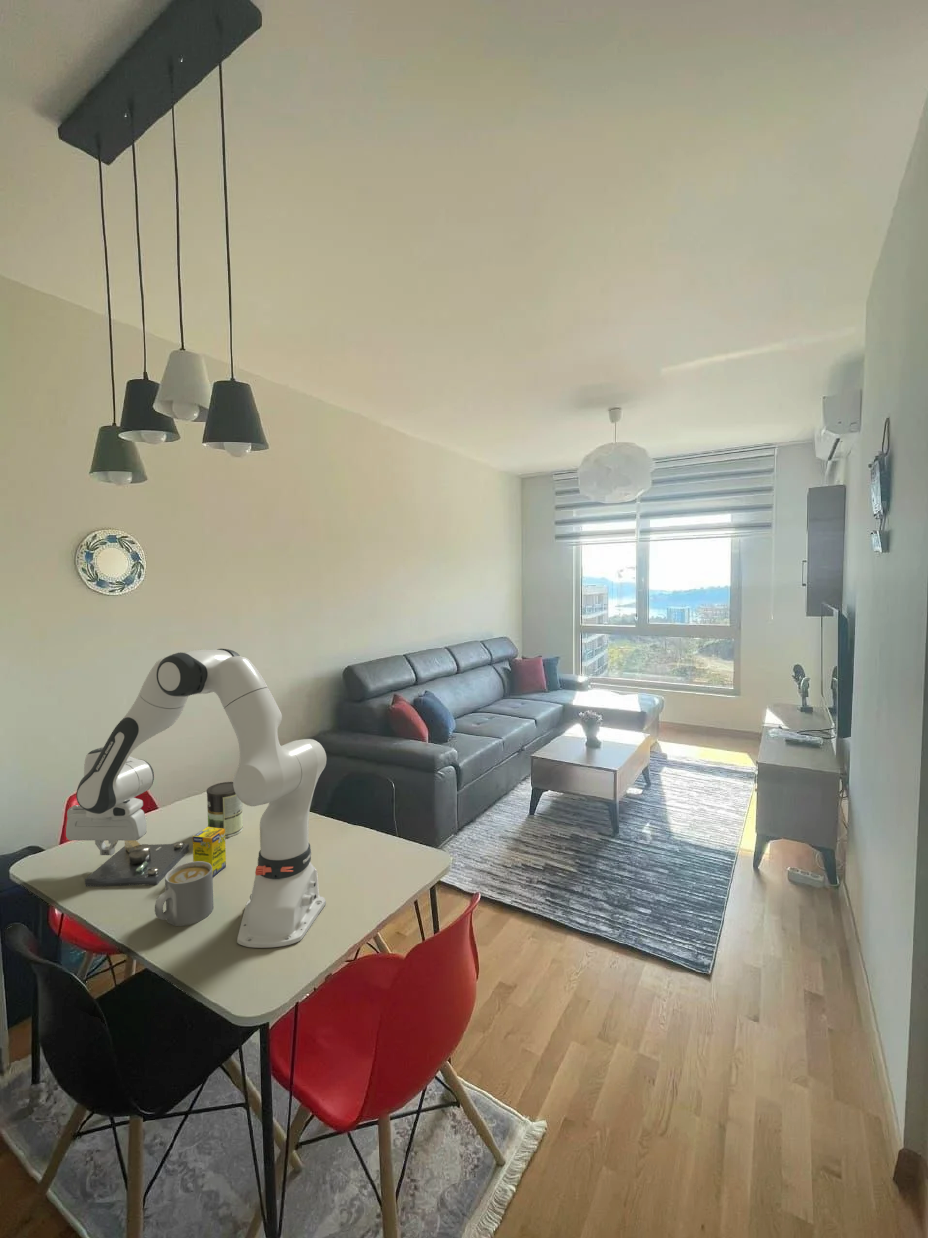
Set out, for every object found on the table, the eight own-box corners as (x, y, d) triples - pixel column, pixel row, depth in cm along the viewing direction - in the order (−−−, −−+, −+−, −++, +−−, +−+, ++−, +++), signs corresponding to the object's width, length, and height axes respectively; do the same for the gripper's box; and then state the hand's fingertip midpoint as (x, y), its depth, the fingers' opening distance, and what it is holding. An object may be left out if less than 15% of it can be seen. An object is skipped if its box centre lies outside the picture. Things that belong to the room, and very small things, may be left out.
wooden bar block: (153, 858, 148) (152, 848, 148) (133, 866, 145) (132, 854, 144) (138, 844, 157) (137, 833, 157) (118, 850, 153) (118, 839, 153)
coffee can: (205, 841, 164) (203, 795, 163) (210, 826, 173) (209, 783, 172) (242, 836, 167) (240, 791, 166) (244, 822, 176) (243, 780, 176)
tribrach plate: (157, 884, 140) (156, 872, 140) (85, 886, 139) (84, 874, 139) (189, 850, 158) (188, 839, 158) (125, 852, 157) (125, 841, 157)
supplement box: (212, 878, 143) (211, 838, 142) (192, 876, 144) (191, 836, 143) (226, 866, 149) (225, 828, 148) (207, 864, 150) (206, 826, 149)
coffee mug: (199, 896, 135) (198, 857, 134) (221, 909, 129) (220, 869, 128) (142, 923, 124) (141, 881, 123) (164, 939, 118) (162, 895, 118)
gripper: (58, 810, 144) (61, 860, 145) (134, 810, 144) (137, 860, 145) (75, 800, 150) (78, 848, 151) (148, 800, 150) (150, 848, 151)
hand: (107, 854), depth 148 cm, fingers closed
